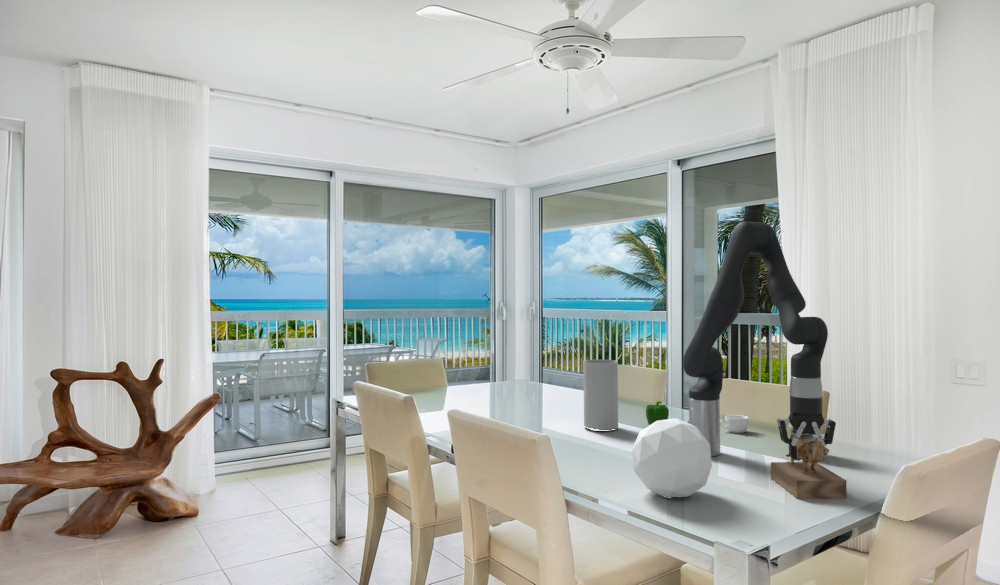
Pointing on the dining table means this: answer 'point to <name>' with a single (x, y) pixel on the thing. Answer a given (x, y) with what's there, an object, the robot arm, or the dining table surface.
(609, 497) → the dining table surface
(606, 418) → the cylinder vase
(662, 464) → the ball
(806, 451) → the lion figurine
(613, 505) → the dining table surface
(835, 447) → the dining table surface
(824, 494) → the walnut block
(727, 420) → the teacup
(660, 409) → the bell pepper
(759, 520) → the dining table surface
